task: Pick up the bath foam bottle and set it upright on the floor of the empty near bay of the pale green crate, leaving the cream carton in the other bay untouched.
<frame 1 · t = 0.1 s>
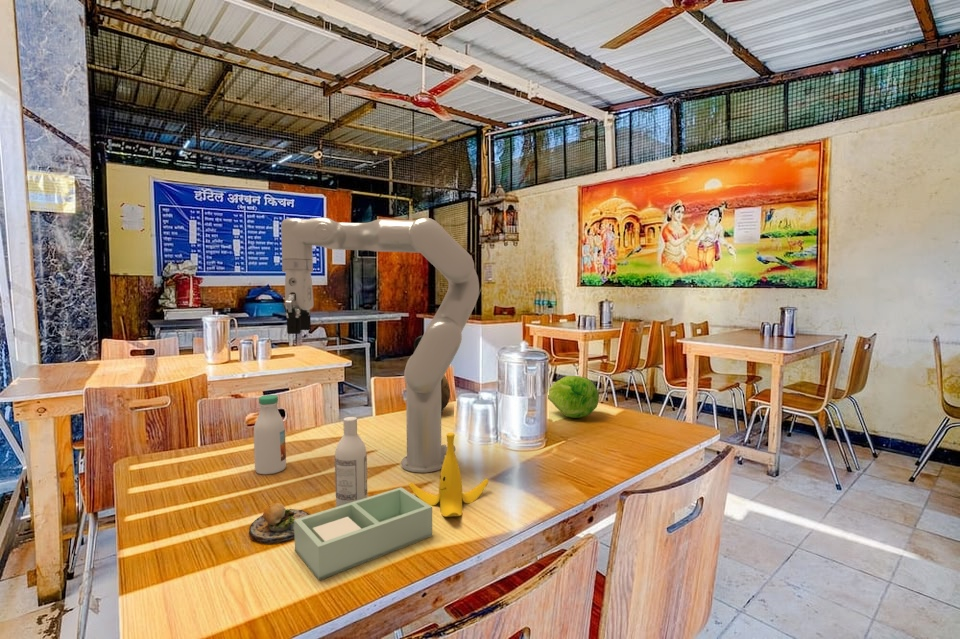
hand: (299, 331, 129), 37 cm above the table, tool pointing down, fingers open, 9 cm apart
ceramic jug: (428, 414, 186), on the table
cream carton: (338, 549, 91), point 1 cm above the table, touching crate
bath foam: (351, 505, 111), on the table
crate: (365, 543, 94), on the table
milk bottle: (270, 470, 131), on the table
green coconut: (572, 417, 183), on the table
burger: (280, 531, 100), on the table
banana peel: (459, 502, 113), on the table
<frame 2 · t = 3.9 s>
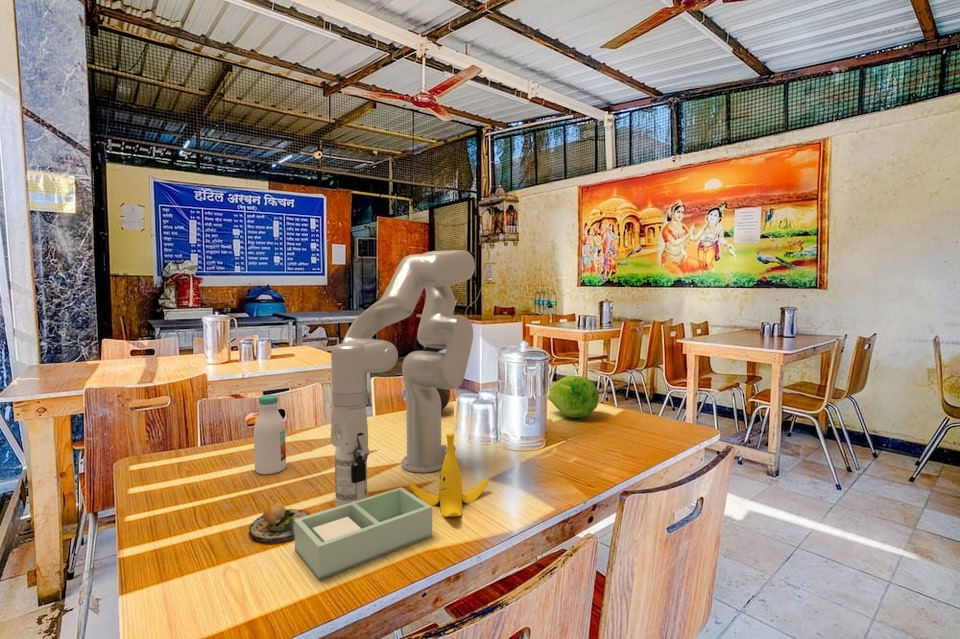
hand: (351, 475, 110), 7 cm above the table, tool pointing down, fingers closed on bath foam, 7 cm apart
bath foam: (351, 505, 111), on the table, touching gripper
everything else where it was.
when the fingers open (9 cm above the table, at t = 9.2 s): bath foam drops 2 cm, resting on crate.
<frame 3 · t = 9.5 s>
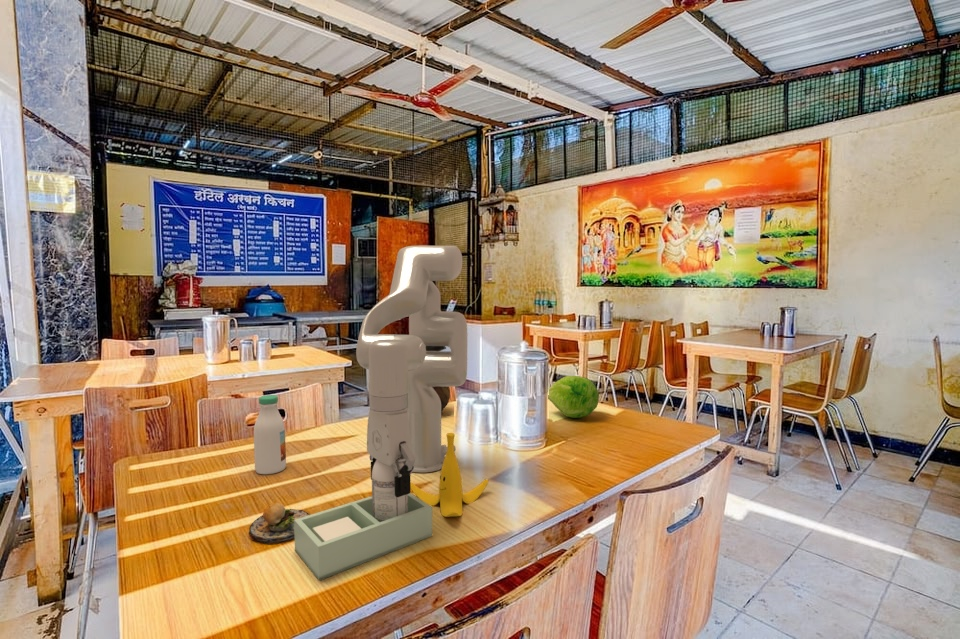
hand: (390, 486, 97), 10 cm above the table, tool pointing down, fingers open, 9 cm apart
bath foam: (390, 531, 98), resting on crate
everything else where it was.
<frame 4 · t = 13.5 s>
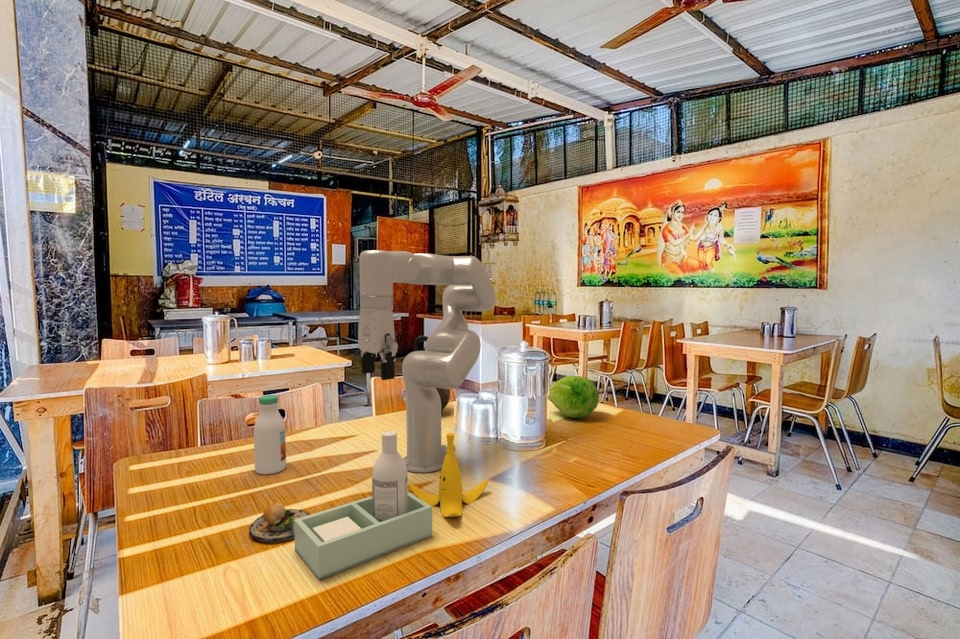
hand: (377, 375, 115), 28 cm above the table, tool pointing down, fingers open, 9 cm apart
nothing on the table moved.
at the end: bath foam inside the target area on the crate (0.2 cm from its centre), point 0.4 cm above the crate's base; bath foam tilted 0°; the gripper is holding nothing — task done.
